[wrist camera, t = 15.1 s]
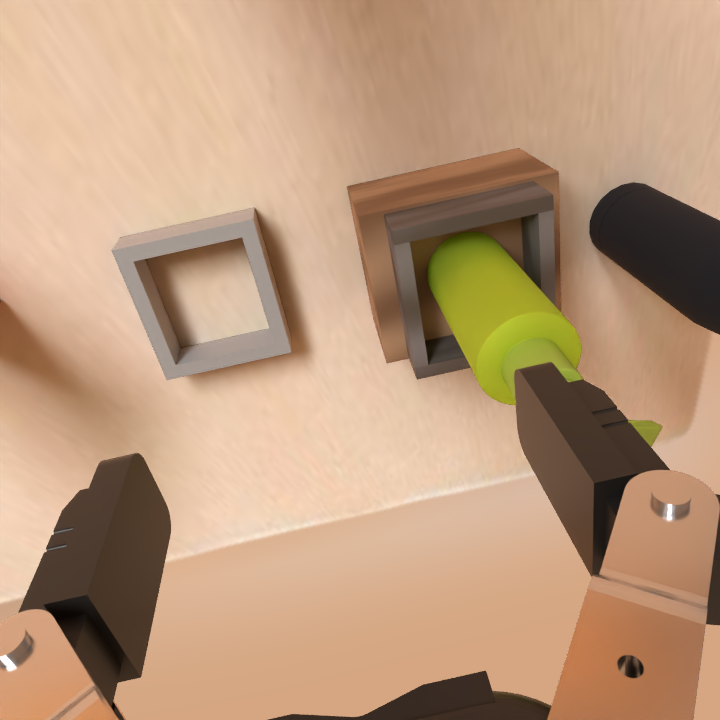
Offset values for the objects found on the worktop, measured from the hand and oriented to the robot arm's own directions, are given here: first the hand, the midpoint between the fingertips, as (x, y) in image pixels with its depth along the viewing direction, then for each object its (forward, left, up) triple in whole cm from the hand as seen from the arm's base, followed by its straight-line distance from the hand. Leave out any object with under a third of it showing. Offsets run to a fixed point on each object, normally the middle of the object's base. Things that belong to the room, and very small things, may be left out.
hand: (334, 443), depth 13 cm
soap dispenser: (+11, +10, -30) cm, 34 cm away
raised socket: (+11, +10, -38) cm, 41 cm away
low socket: (+11, -10, -38) cm, 41 cm away
